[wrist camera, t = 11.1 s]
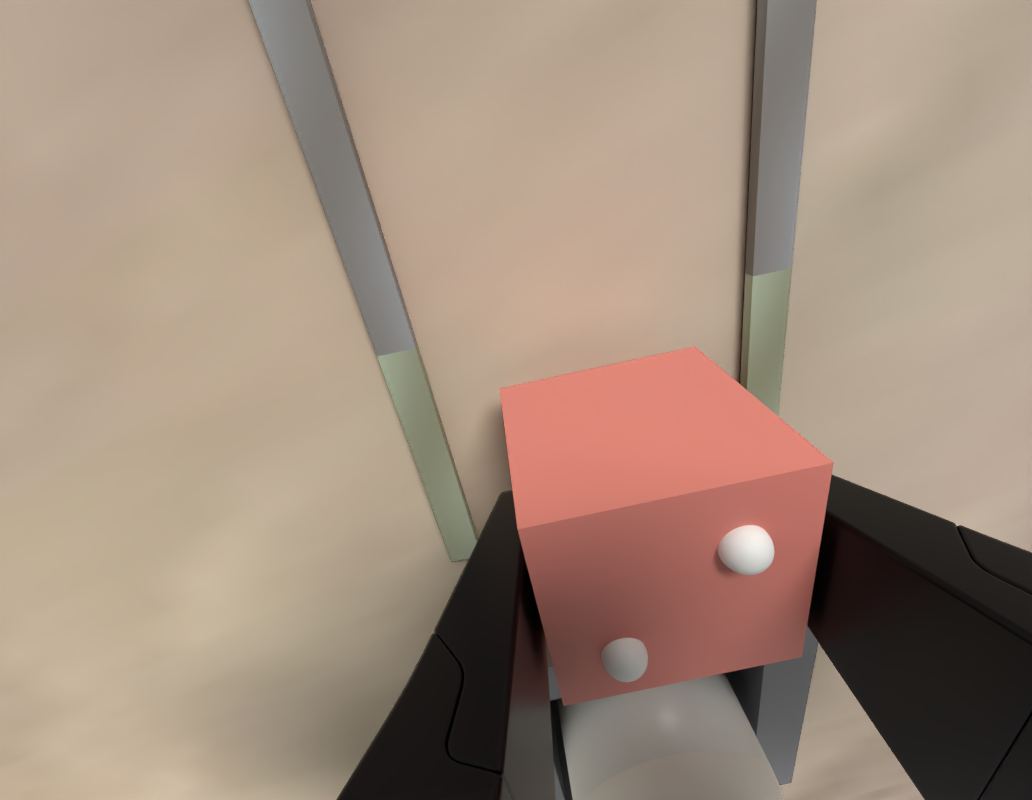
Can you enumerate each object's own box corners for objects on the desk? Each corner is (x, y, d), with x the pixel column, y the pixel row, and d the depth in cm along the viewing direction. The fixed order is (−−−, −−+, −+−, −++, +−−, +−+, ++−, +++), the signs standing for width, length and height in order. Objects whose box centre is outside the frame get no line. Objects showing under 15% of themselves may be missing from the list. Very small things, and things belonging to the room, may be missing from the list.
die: (694, 346, 9) (857, 482, 5) (696, 498, 11) (817, 681, 7) (499, 388, 9) (521, 553, 5) (534, 533, 11) (567, 732, 7)
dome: (701, 580, 13) (871, 890, 8) (700, 676, 16) (833, 972, 10) (538, 613, 13) (587, 946, 8) (561, 705, 16) (613, 1015, 10)
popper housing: (751, 518, 13) (824, 611, 10) (739, 683, 17) (791, 782, 14) (471, 576, 13) (471, 683, 10) (522, 727, 17) (532, 834, 14)
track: (897, -1122, 4) (928, -1216, 4) (764, 488, 12) (770, 495, 12) (-63, -892, 4) (-100, -963, 4) (451, 553, 13) (451, 561, 12)
